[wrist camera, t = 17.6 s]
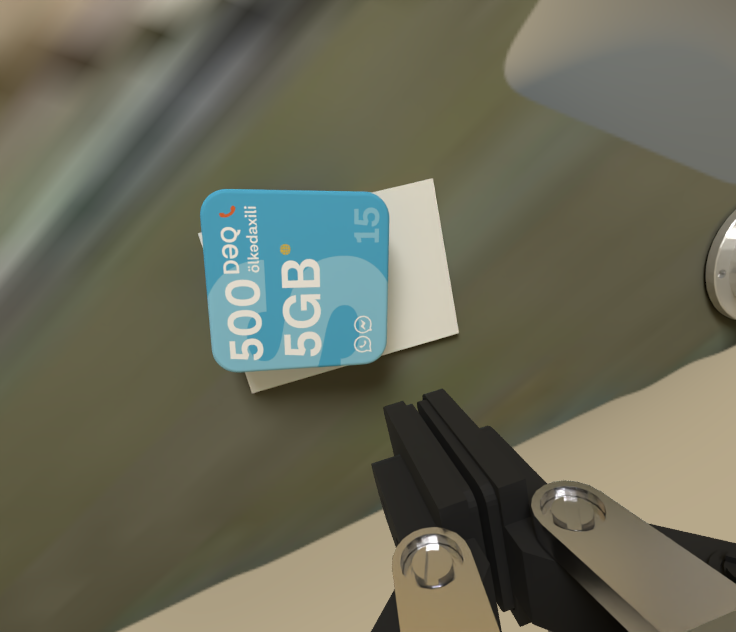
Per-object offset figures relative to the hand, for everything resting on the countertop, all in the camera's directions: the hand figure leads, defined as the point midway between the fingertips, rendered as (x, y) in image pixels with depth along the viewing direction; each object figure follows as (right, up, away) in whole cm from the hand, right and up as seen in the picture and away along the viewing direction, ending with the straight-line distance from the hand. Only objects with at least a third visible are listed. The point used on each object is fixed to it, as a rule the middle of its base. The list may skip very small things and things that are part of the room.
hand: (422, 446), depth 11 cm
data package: (0, +6, +20) cm, 21 cm away
